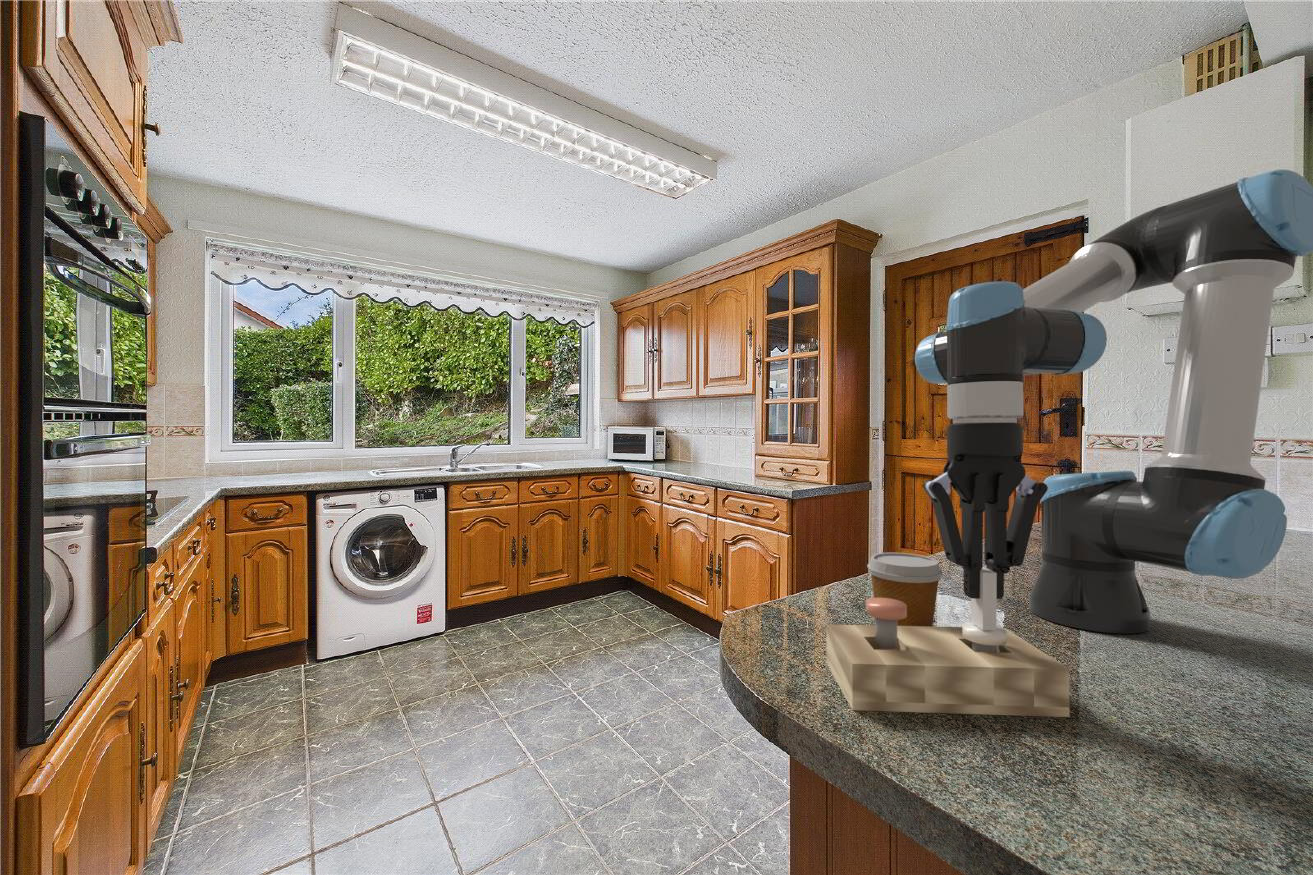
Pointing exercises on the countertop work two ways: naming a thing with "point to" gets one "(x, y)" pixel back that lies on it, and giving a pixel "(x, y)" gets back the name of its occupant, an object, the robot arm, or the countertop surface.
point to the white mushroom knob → (984, 637)
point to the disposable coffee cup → (907, 584)
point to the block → (944, 673)
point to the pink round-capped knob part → (886, 619)
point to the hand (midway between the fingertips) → (983, 625)
